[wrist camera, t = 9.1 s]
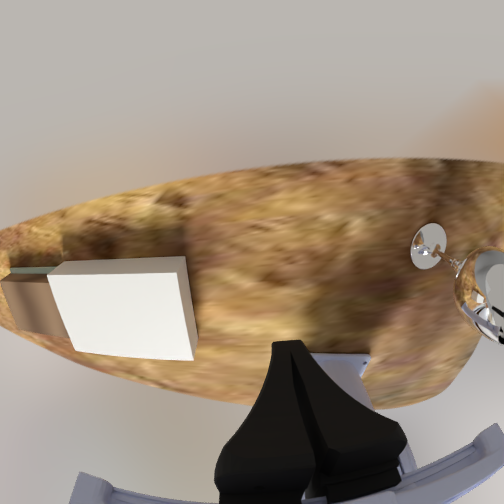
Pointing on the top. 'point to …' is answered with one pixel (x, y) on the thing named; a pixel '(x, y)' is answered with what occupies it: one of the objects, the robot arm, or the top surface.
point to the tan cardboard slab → (33, 304)
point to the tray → (127, 307)
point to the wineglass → (468, 280)
